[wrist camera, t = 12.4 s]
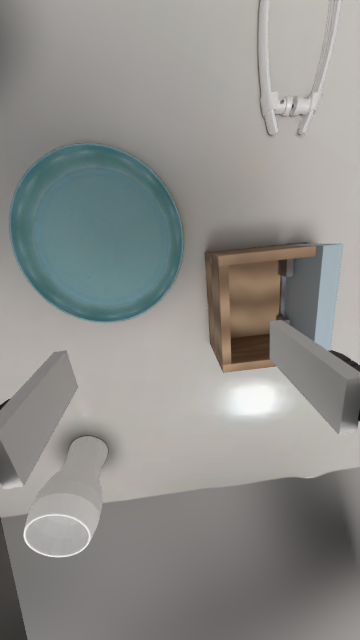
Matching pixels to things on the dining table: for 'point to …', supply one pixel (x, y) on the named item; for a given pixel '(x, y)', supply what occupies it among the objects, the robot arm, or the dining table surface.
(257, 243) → the dining table surface
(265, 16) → the door handle
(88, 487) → the cup
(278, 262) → the cabinet
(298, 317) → the door
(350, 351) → the dining table surface
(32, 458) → the robot arm
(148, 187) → the saucer
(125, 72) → the dining table surface
